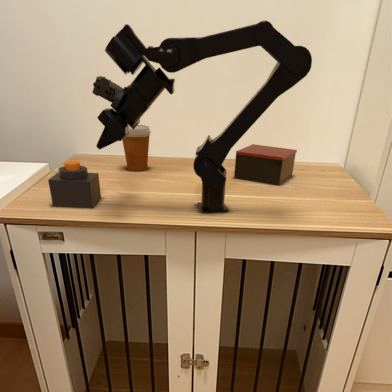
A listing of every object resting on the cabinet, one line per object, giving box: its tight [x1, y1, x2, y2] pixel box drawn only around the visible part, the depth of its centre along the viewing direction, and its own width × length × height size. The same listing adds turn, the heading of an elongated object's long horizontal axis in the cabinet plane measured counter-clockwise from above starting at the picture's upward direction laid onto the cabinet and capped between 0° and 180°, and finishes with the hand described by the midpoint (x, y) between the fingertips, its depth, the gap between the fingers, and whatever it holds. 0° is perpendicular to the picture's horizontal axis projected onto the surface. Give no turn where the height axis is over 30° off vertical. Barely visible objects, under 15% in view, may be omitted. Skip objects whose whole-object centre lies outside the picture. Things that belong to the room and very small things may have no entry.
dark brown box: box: [233, 152, 297, 186], centre depth 126 cm, size 13×15×7 cm
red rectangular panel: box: [235, 144, 298, 161], centre depth 124 cm, size 13×15×1 cm
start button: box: [63, 160, 81, 171], centre depth 98 cm, size 4×4×2 cm
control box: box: [47, 165, 102, 209], centre depth 101 cm, size 10×8×8 cm
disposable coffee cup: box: [121, 124, 152, 172], centre depth 129 cm, size 10×10×12 cm
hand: (98, 147), depth 95 cm, fingers closed
